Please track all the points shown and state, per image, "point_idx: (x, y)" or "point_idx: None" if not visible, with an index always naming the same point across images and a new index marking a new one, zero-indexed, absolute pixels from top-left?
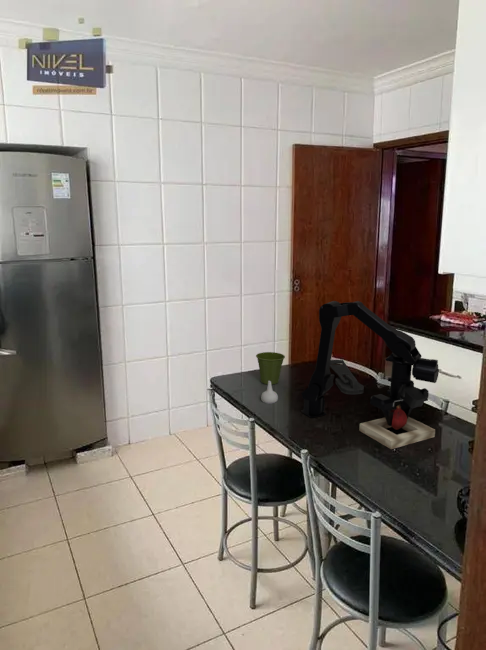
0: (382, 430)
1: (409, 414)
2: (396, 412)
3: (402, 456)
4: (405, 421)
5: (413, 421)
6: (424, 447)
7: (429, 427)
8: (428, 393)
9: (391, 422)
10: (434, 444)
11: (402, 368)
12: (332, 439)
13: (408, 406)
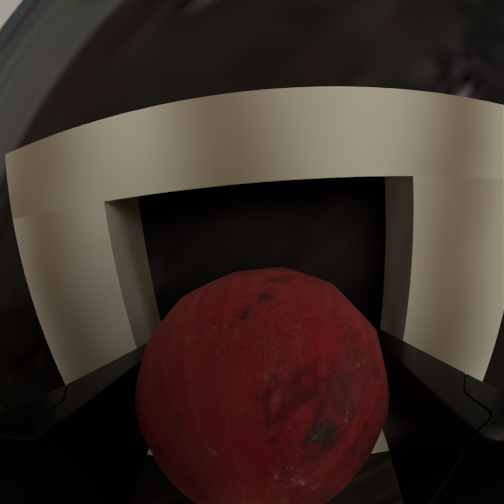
0: (448, 310)
1: (84, 376)
2: (344, 452)
3: (457, 13)
4: (225, 283)
5: (70, 340)
6: (221, 23)
7: (16, 202)
8: None
9: (394, 345)
10: (116, 49)
11: None
12: None
13: (48, 470)
